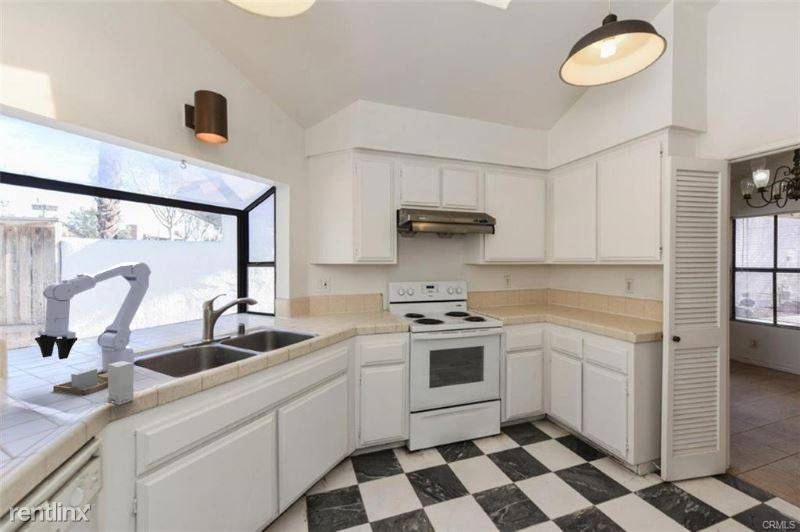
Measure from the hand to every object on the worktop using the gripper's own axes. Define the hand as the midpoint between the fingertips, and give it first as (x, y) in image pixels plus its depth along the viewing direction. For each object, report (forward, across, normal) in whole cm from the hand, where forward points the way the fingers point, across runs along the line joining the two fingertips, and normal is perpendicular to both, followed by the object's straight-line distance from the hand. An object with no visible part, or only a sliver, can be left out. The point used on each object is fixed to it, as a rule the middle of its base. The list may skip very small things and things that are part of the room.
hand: (55, 357), depth 117 cm
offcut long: (+11, +13, +7) cm, 18 cm away
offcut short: (+9, +13, +8) cm, 17 cm away
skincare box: (+11, +32, -2) cm, 34 cm away
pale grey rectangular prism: (+11, +13, +1) cm, 17 cm away
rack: (+10, +13, +4) cm, 17 cm away
